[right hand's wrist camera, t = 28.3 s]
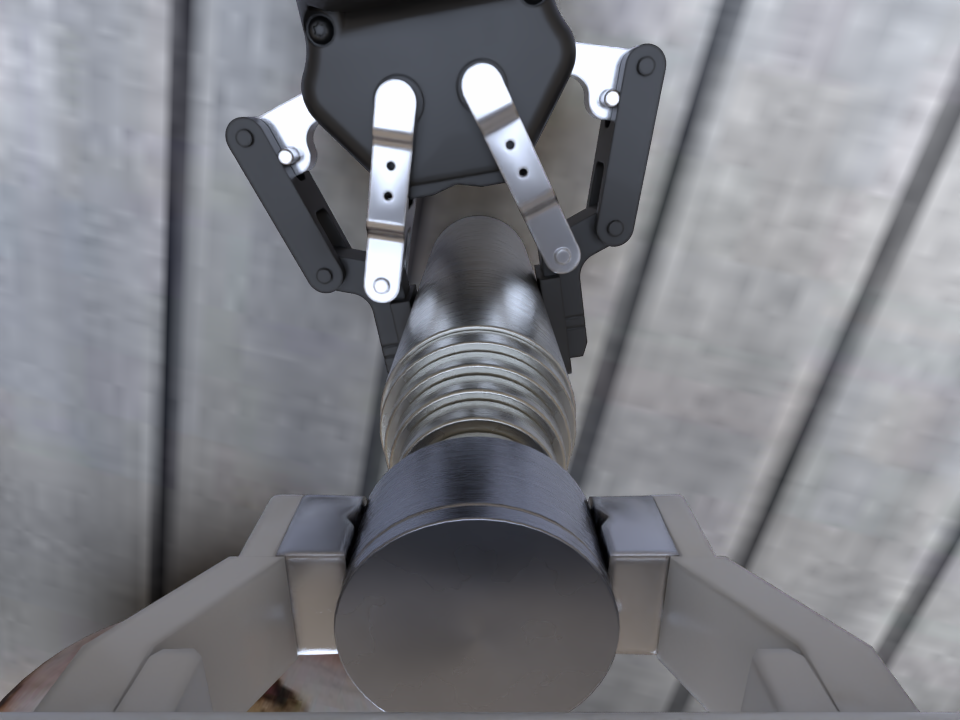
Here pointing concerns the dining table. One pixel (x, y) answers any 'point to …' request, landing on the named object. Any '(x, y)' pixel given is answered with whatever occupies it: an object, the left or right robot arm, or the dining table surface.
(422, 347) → the bottle
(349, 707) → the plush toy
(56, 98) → the dining table surface
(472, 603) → the cap
